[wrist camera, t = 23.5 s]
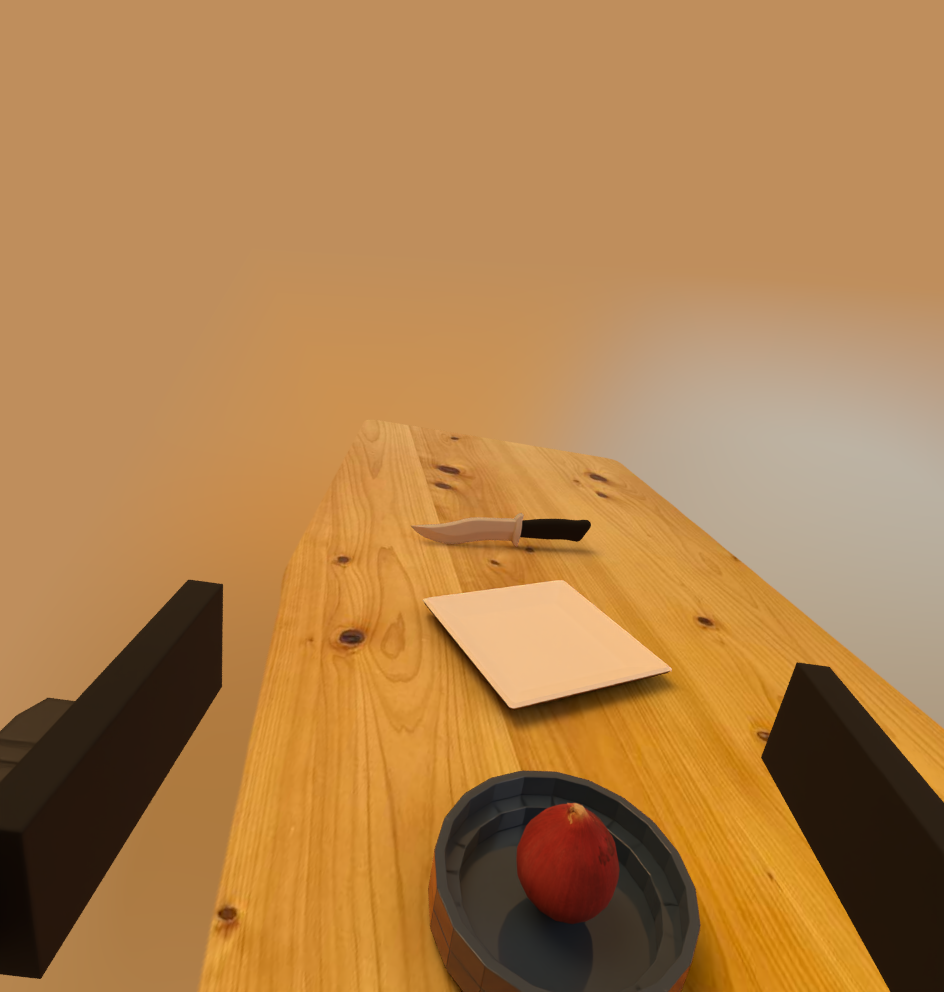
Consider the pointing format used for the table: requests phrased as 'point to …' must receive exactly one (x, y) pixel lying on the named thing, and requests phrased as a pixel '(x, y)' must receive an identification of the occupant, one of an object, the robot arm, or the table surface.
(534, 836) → the onion
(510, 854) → the bowl
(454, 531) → the knife
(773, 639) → the table surface
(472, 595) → the plate
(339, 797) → the table surface
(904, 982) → the robot arm
